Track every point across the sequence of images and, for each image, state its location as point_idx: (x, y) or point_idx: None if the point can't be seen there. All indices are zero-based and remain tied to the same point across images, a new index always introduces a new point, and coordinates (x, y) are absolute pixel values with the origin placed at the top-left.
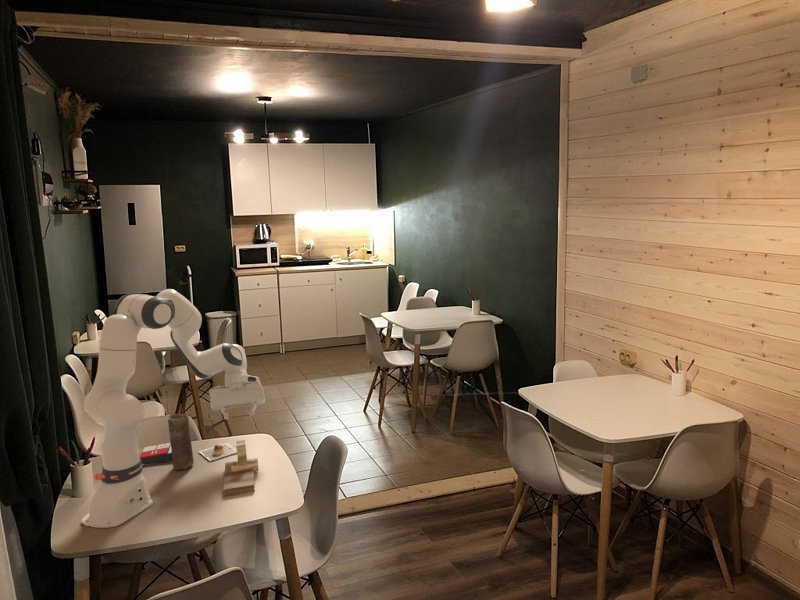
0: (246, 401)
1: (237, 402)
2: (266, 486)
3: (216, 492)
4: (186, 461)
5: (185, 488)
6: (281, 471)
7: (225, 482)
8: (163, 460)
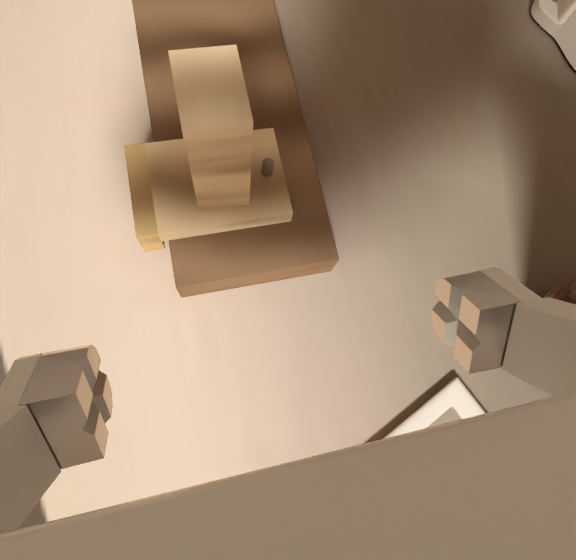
0: (76, 524)
1: (364, 456)
2: (87, 55)
3: (310, 52)
4: (571, 285)
5: (460, 111)
6: (12, 188)
7: (276, 42)
8: None
